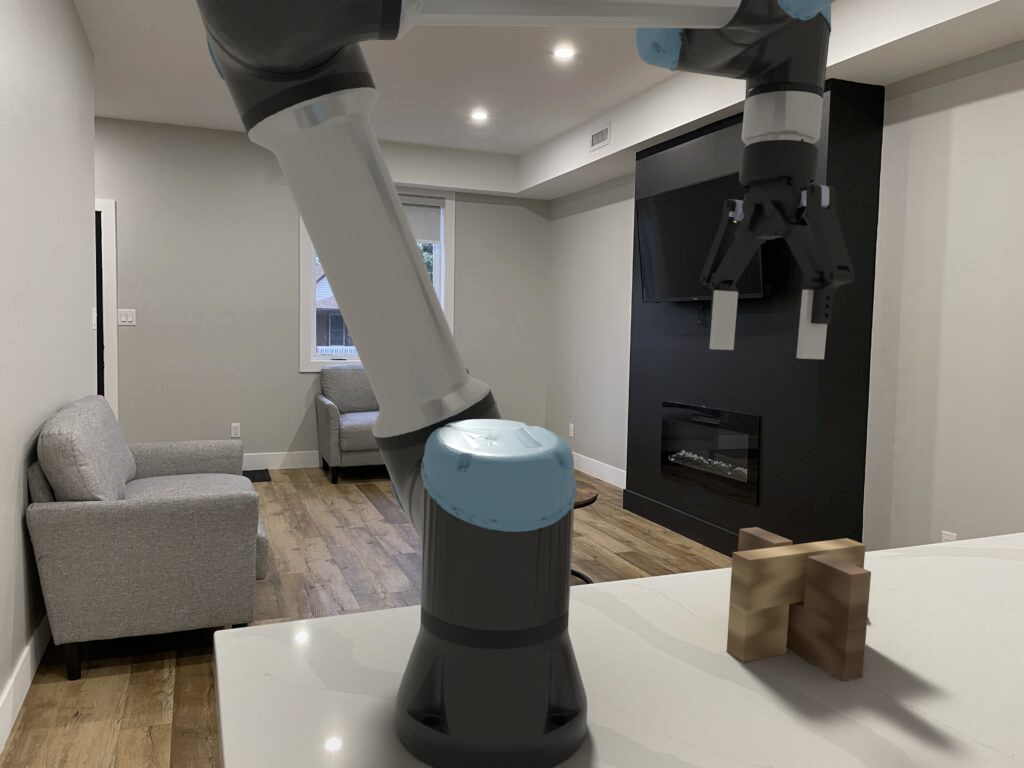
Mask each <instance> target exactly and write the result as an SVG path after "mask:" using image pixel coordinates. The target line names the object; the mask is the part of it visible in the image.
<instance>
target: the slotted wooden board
mask: <svg viewBox="0 0 1024 768" xmlns="http://www.w3.org/2000/svg"><path fill="white" fill-rule="evenodd" d="M738 529H739V530H738V531H739V533H738V545H737V552H740V551H748V550H756V549H764V548H772V547H780V546H788V545H794V544H793V543H794V542H793V540H791V539H788V538H786V537H783V536H780V535H778V534H776V533H773V532H771V531H768V530H765V529H763V528H760V527H758V526H755V527H745V528H738ZM871 576H872V571H870V570H867V569H865V568H864V569H863V568H860V567H858V566H855V565H852V564H850V563H847V562H845V561H842V560H840V559H837V558H835V557H832V556H829V555H827V554H824V555H816V556H809V557H807V570H806V584H805V597H804V602H800V603H794V604H789V616H788V630H787V644H786V650H789V652H792V653H794V654H796V655H797V656H799V657H800V658H802V659H804V660H805V661H807V662H809V663H811V664H813V665H814V666H816V667H817V668H820V669H821V670H824V672H827V673H828V674H830V675H832V676H834V677H836V678H837V679H839V680H841V681H843V682H845V681H846V682H847V681H850V680H855V679H858V678H859V679H860V678H863V675H864V665H865V654H866V653H865V652H866V651H865V650H866V639H867V629H868V628H867V627H868V619H867V617H868V615H869V604H870V602H869V601H870V592H871V591H870V590H871V579H872V578H871ZM868 618H869V617H868Z"/></svg>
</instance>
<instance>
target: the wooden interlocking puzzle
mask: <svg viewBox="0 0 1024 768" xmlns="http://www.w3.org/2000/svg"><path fill="white" fill-rule="evenodd" d="M824 554H827V555H829V556H832V557H835V558H837V559H840V560H842V561H845V562H847V563H850V564H852V565H855V566H858V567H860V568H863V569H865V557H866V544H865V543H861V542H858V541H857V540H854V539H850V538H847V537H845V538H837V539H831V540H822V541H813V542H807V543H797V544H796V543H795V544H793V545H788V546H780V547H772V548H764V549H756V550H748V551H740V552H738V551H732V557H731V558H732V561H731V572H730V573H731V574H730V575H731V576H730V588H729V590H730V591H729V607H728V621H727V622H728V624H727V638H726V639H727V640H726V653H728V654H730V655H731V656H733V657H734V658H736V659H737V660H739V661H740V662H743V663H744V662H745V663H746V662H749V661H756V660H759V659H765V658H770V657H774V656H779V655H785V654H787V649H786V644H787V630H788V616H789V604H794V603H800V602H804V597H805V584H806V570H807V557H809V556H816V555H824Z"/></svg>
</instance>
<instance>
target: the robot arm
mask: <svg viewBox="0 0 1024 768" xmlns="http://www.w3.org/2000/svg"><path fill="white" fill-rule="evenodd" d="M836 1H837V0H195V3H196V5H197V7H198V11H199V13H200V16H201V20H202V23H203V27H204V30H205V35H206V36H205V37H206V43H207V48H208V51H209V54H210V57H211V60H212V64H213V65H214V67H215V70H216V71H217V73H218V76H219V78H221V80H223V81H224V83H225V86H226V87H227V89H228V91H229V93H230V96H231V98H232V101H233V103H234V105H235V108H236V111H237V113H238V116H239V117H240V120H241V122H242V124H243V127H244V129H245V131H246V134H247V136H248V138H249V140H250V141H251V142H252V143H254V144H256V145H258V146H260V147H263V148H264V149H266V150H269V151H271V152H272V153H273V154H274V155H275V156H276V159H277V161H278V164H279V166H280V168H281V171H282V174H283V175H284V178H285V180H286V184H287V185H288V188H289V191H290V193H291V195H292V197H293V200H294V203H295V205H296V207H297V209H298V212H299V214H300V217H301V219H302V222H303V224H304V227H305V229H306V231H307V235H308V236H309V240H310V241H311V244H312V247H313V248H314V251H315V253H316V254H315V255H316V256H317V258H318V261H319V263H320V266H321V268H322V271H323V273H324V275H325V278H326V280H327V283H328V286H329V287H330V289H331V293H332V294H333V298H334V300H335V301H336V304H337V307H338V309H339V312H340V314H341V316H342V319H343V321H344V324H345V326H346V328H347V332H348V333H349V336H350V339H351V340H352V343H353V345H354V348H355V351H356V352H357V355H358V357H359V360H360V363H361V365H362V367H363V369H364V372H365V375H366V377H367V379H368V381H369V384H370V387H371V390H372V391H373V394H374V396H375V398H376V401H377V404H378V406H379V409H378V410H379V411H378V415H377V418H376V420H375V422H374V424H373V426H372V429H371V433H372V435H373V438H374V440H375V442H376V445H377V447H378V450H379V453H380V455H381V458H382V460H383V462H384V464H385V466H386V470H387V472H388V474H389V477H390V479H391V489H392V492H393V495H394V497H395V500H396V501H397V503H398V505H399V507H400V508H401V510H402V512H403V513H404V514H405V516H406V517H408V519H409V521H410V522H411V524H412V526H413V528H414V530H415V533H417V535H418V537H419V539H420V540H421V573H420V574H421V575H420V577H421V582H420V583H421V584H420V587H421V588H420V623H419V625H420V626H419V630H418V633H417V635H416V638H415V642H414V644H413V647H412V649H411V650H412V651H411V653H410V656H409V659H408V660H407V661H408V662H407V664H406V668H405V669H404V672H403V676H402V679H401V682H400V684H399V687H398V690H397V693H396V702H395V704H396V705H395V729H396V733H397V737H398V738H399V740H400V741H401V743H402V744H403V746H404V747H405V748H406V749H407V750H408V751H409V752H410V753H412V754H413V755H414V756H416V757H417V758H419V759H420V760H422V761H424V762H426V763H428V764H430V765H432V766H434V767H435V768H436V767H437V768H550V767H552V766H554V765H557V764H559V763H562V762H563V761H564V760H566V759H567V758H568V757H570V756H571V755H573V754H574V753H575V752H576V751H577V750H578V749H579V748H580V746H581V745H582V743H583V742H584V740H585V737H586V734H587V728H588V727H587V724H588V723H587V722H588V698H587V693H586V690H585V687H584V683H583V679H582V675H581V672H580V668H579V664H578V662H577V659H576V658H577V657H576V655H575V652H574V648H573V647H574V646H573V643H572V640H571V637H570V634H569V617H570V615H569V614H570V598H571V597H570V596H571V580H572V579H571V574H572V557H573V556H572V554H573V553H572V552H573V551H572V550H573V537H574V536H573V535H574V534H573V533H574V532H573V531H574V518H575V517H574V515H575V513H574V511H575V500H576V498H577V490H578V489H577V482H576V476H575V461H574V454H573V451H572V449H571V446H570V445H569V444H568V443H567V442H566V440H565V439H564V438H562V437H561V436H560V435H558V434H556V433H555V432H553V431H551V430H549V429H547V428H544V427H542V426H537V425H528V423H525V422H521V421H517V420H510V419H509V420H508V419H502V416H501V413H500V411H499V409H498V405H497V403H496V400H495V398H494V396H493V393H492V390H491V388H490V387H491V386H490V385H489V384H488V383H487V382H484V381H482V380H480V379H478V378H475V377H473V376H471V375H470V374H469V373H468V372H467V370H466V367H465V365H464V362H463V359H462V357H461V354H460V353H459V348H458V346H457V343H456V342H455V339H454V336H453V334H452V331H451V328H450V326H449V323H448V321H447V318H446V316H445V313H444V310H443V308H442V305H441V303H440V300H439V298H438V294H437V292H436V290H435V287H434V284H433V282H432V279H431V277H430V276H431V275H430V274H429V271H428V269H427V267H426V264H425V261H424V257H423V256H422V253H421V250H420V248H419V245H418V243H417V239H416V238H415V237H416V236H415V235H414V233H413V230H412V227H411V225H410V222H409V219H408V216H407V214H406V212H405V209H404V207H403V203H402V201H401V198H400V196H399V193H398V190H397V188H396V186H395V182H394V180H393V177H392V175H391V172H390V170H389V167H388V165H387V162H386V159H385V157H384V154H383V151H382V149H381V147H380V144H379V141H378V139H377V136H376V134H375V133H376V132H375V131H374V128H373V125H372V123H371V118H372V114H373V111H374V109H375V106H376V104H377V101H378V99H379V92H378V90H377V87H376V84H375V82H374V78H373V77H372V73H371V71H370V68H369V65H368V62H367V60H366V57H365V55H364V52H363V49H362V47H361V44H360V43H361V42H368V41H399V40H400V39H402V37H403V36H404V35H405V34H406V33H407V32H408V31H409V30H410V29H411V28H412V27H414V26H449V27H450V26H452V27H453V26H454V27H455V26H456V27H460V26H461V27H463V26H465V27H474V26H475V27H542V28H543V27H544V28H545V27H548V28H549V27H550V28H551V27H553V28H559V27H560V28H570V27H571V28H625V29H626V28H629V29H632V28H635V47H636V50H637V54H638V55H639V58H640V60H642V61H643V62H644V63H645V64H647V65H651V66H654V67H658V68H661V69H666V70H669V71H671V72H676V71H678V72H684V73H685V72H686V73H691V74H700V75H706V76H707V75H708V76H715V77H720V78H727V79H733V80H742V81H745V97H744V99H745V101H744V107H743V117H742V118H743V120H742V130H741V141H742V142H743V143H744V144H745V146H743V148H742V149H741V150H740V161H739V173H738V182H739V183H740V184H741V185H742V186H744V188H745V189H746V191H745V195H744V199H743V200H739V199H731V198H726V199H725V200H724V203H723V208H722V214H721V220H720V223H719V225H718V227H717V230H716V233H715V236H714V240H713V242H712V245H711V246H710V250H709V252H708V256H707V258H706V261H705V263H704V265H703V269H702V272H701V274H700V278H699V283H700V284H702V285H705V286H708V287H709V289H710V290H711V304H710V319H711V324H710V325H711V327H710V337H709V338H710V339H709V350H721V351H724V350H725V351H726V350H727V351H734V348H735V347H734V346H735V335H736V322H737V312H738V311H737V310H738V299H739V291H738V288H737V286H736V284H737V282H738V281H739V280H740V278H741V276H742V274H743V273H744V271H745V270H746V268H747V267H748V264H749V263H750V261H751V260H752V259H753V256H754V255H755V253H756V252H757V250H758V248H759V247H760V246H761V245H763V244H765V243H766V242H767V240H775V239H777V238H782V239H784V240H785V241H786V243H787V245H788V247H789V249H790V250H791V251H790V252H792V254H793V257H794V258H795V261H796V262H797V264H798V266H799V268H800V269H801V271H802V273H803V275H804V278H805V280H806V281H807V282H806V285H805V284H804V287H805V289H802V290H801V291H802V292H801V302H800V312H799V313H800V314H799V324H798V325H799V326H798V335H797V348H796V357H795V358H796V359H805V360H806V359H807V360H811V359H812V360H824V359H825V353H826V352H825V351H826V342H827V341H826V340H827V330H828V325H830V324H831V322H832V321H833V312H834V311H833V308H834V300H835V292H836V290H837V289H838V288H839V287H840V286H842V285H845V284H851V283H853V282H854V281H855V277H856V275H855V271H854V267H853V265H852V262H851V257H850V253H849V251H848V247H847V244H846V241H845V237H844V234H843V231H842V227H841V224H840V223H841V222H840V220H839V217H838V214H837V210H836V189H835V187H834V186H829V185H825V184H816V181H817V177H818V176H817V175H818V165H819V153H820V149H819V148H818V147H817V145H816V144H815V143H817V142H818V141H819V140H820V138H821V127H822V115H823V104H824V94H825V93H824V92H825V85H826V84H825V83H826V73H827V64H828V55H829V46H830V45H829V44H830V37H831V34H832V33H831V32H832V4H833V3H835V2H836ZM806 215H807V216H806ZM713 273H714V274H713Z"/></svg>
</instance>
